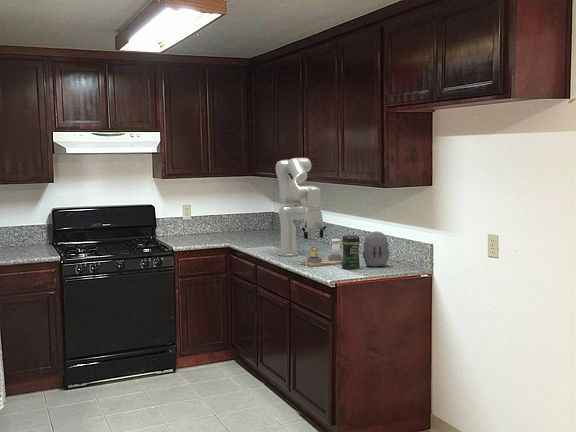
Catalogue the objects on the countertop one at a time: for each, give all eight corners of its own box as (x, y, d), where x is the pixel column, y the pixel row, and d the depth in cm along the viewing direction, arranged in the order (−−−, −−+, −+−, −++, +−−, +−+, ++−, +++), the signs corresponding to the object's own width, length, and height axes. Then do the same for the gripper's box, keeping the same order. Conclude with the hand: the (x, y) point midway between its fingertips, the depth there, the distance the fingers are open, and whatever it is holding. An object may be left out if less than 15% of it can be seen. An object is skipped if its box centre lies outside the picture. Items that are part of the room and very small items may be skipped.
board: (299, 263, 378) (299, 261, 377) (336, 260, 387) (336, 257, 387) (310, 267, 365) (310, 264, 365) (347, 263, 374) (347, 261, 374)
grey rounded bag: (388, 265, 369) (388, 230, 367) (390, 267, 360) (390, 232, 359) (361, 265, 368) (361, 230, 366) (363, 268, 360) (363, 232, 358)
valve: (308, 261, 375) (308, 246, 374) (316, 261, 377) (316, 246, 376) (312, 263, 369) (312, 248, 369) (320, 262, 371) (320, 247, 371)
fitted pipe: (326, 259, 381) (326, 239, 380) (338, 258, 384) (338, 238, 383) (332, 261, 374) (332, 240, 372) (345, 260, 377) (345, 239, 376)
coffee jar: (346, 270, 355) (346, 236, 353) (340, 267, 362) (339, 234, 361) (361, 268, 358) (361, 235, 357) (355, 266, 366) (355, 233, 364)
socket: (305, 261, 375) (305, 257, 375) (317, 260, 379) (317, 256, 378) (311, 263, 368) (310, 259, 368) (323, 262, 371) (323, 258, 371)
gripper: (324, 207, 377) (324, 236, 379) (297, 208, 371) (297, 238, 373) (330, 208, 371) (330, 238, 373) (302, 210, 364) (302, 240, 366)
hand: (313, 238), depth 373 cm, fingers open, 9 cm apart
